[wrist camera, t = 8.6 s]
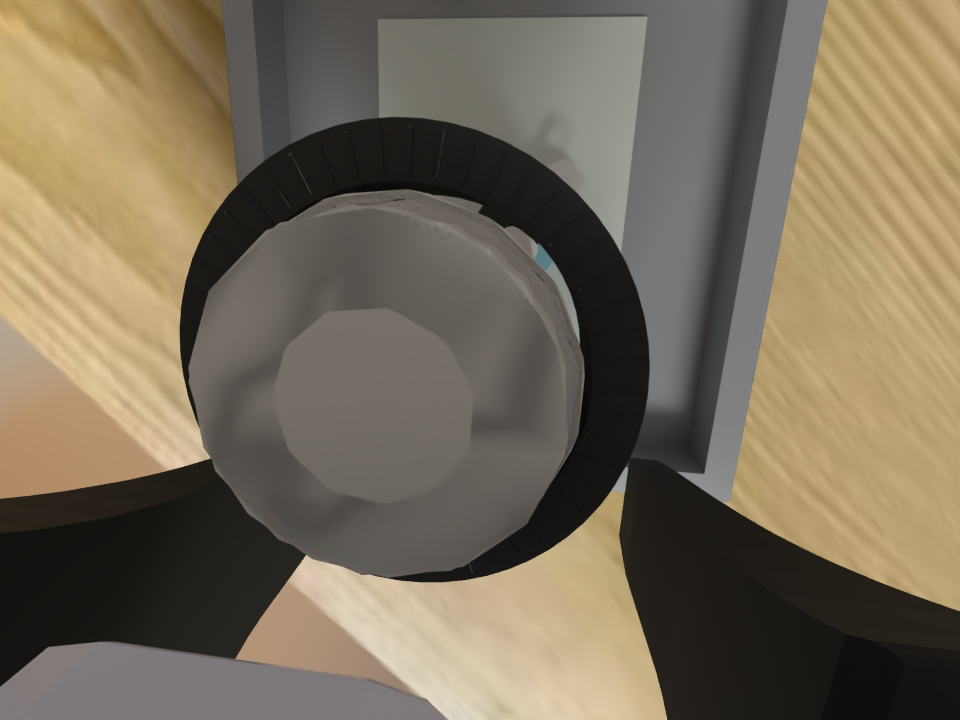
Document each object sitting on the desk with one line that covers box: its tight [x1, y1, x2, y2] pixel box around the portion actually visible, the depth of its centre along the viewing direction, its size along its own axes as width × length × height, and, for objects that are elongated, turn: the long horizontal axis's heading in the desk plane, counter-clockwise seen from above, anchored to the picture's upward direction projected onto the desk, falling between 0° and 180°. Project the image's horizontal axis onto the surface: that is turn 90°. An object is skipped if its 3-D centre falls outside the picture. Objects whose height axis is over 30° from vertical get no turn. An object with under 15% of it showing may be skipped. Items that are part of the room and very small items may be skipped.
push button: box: [180, 117, 650, 582], centre depth 9 cm, size 7×5×10 cm
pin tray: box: [222, 0, 827, 502], centre depth 12 cm, size 14×16×4 cm
